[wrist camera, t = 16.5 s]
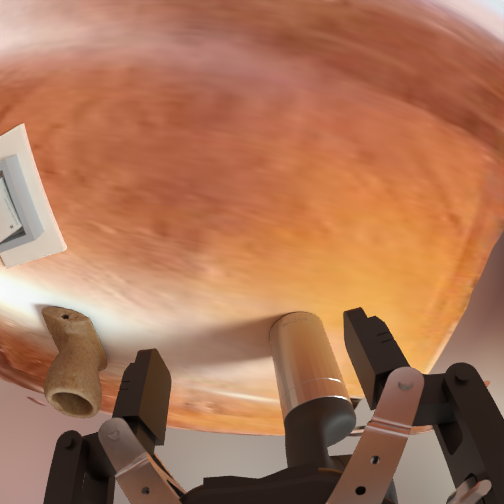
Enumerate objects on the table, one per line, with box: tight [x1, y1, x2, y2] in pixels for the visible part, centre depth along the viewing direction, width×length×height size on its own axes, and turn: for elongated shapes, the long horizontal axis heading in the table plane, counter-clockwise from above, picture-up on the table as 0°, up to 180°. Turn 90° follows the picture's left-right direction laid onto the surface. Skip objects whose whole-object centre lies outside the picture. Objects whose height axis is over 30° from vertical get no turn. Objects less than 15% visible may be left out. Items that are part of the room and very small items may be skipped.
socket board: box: [0, 124, 67, 268], centre depth 36 cm, size 20×14×4 cm
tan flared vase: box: [42, 307, 107, 418], centre depth 44 cm, size 15×12×15 cm
